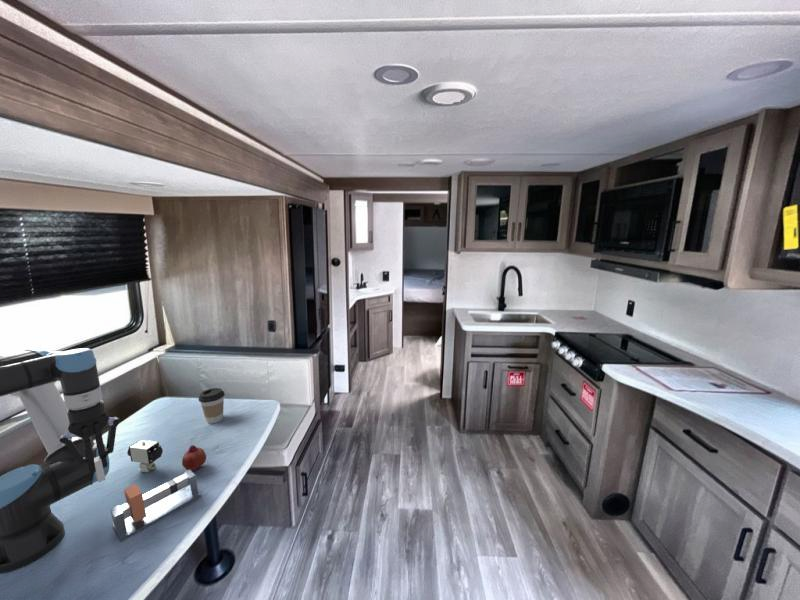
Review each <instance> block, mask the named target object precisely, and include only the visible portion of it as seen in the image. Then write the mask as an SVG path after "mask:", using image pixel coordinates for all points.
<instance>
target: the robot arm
mask: <svg viewBox="0 0 800 600" xmlns="http://www.w3.org/2000/svg"><path fill="white" fill-rule="evenodd" d="M56 382H60V386H61V390H62V394H63V397H62V396H61V393H60V391H59V390H58V388H57V386H56ZM9 395H10V396H12V397H16V398H19V399H20V402H21V403H22V406H23V407H24V410H25V412H26V413H27V415H28V416H29V417H28V418H29V419H30V420H31V423H32V425H33V426H34V427H33V428H34V429H35V430H36V432H37V435H38V436H39V438H40V441H41V442H42V444H43V446H44V448H45V450H46V452H47V456H45V458H44V459H43V462H44V464H43V465H40V464H35V463H33V464H26V466H23V465H22V466H19V467H17V468H15V469H12V470H9V471H8V472H6V473H4V474H2V475H1V476H0V574H6V573H9V572H14V571H17V570H19V569H21V568H24V567H26V566H28V565H30V564H32V563H34V562H36V561H38V560H39V559H41V558H42V557H44V556H46V555H47V554H48V553H49V552H51V551H52V550H53V549H54V548H56V547H57V546H58V545H59V543H61V541H62V540H63V539H64V537H65V534H66V529H65V526H64V523H63V522H62V521H61V519H59V518H58V517H57V516H56V515H55V514H54V513H53V512H52V509H51V505H53V504H55V503H57V502H59V501H61V500H63V499H64V498H67V497H69V496H71V495H73V494H75V493H77V492H79V491H81V490H83V489H84V488H87V487H89V486H92V485H94V483H97V482H98V483H102V482H104V481H106V476H107V475H108V473H109V472H110V457H109V456H110V455H109V454H112V453H113V452H114V450H115V449H114V448H115V442H116V433H117V427H118V426H119V423H120V421H121V420H120V418H119V417H118V416H112V417H111V416H109V415H108V414H107V412H106V408H105V407H106V406H105V403H104V400H103V393H102V388H101V384H100V377H99V371H98V366H97V358H96V357H95V354H94V351H93V349H91V348H89V347H88V348H87V347H84V348H83V347H82V348H79V347H78V348H74V349H73V348H72V349H69V350H55V351H50V350H48V349H46V348H41V347H40V348H34V349H26V350H24V351H20V352H15V353H9V354H6V355H5V354H4V355H0V397H4V396H9ZM106 425H108V429H107V437H106V438H107V439H106V444H105V443H104V439H103V433H102V431H103V430H104V428H105V427H106ZM91 436H94V438H95V442H94V440H93V438H91Z"/></svg>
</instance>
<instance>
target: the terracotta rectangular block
mask: <svg viewBox="0 0 800 600" xmlns="http://www.w3.org/2000/svg"><path fill="white" fill-rule="evenodd" d="M123 491H124V497H125V500H126V501H125V502H126V503H127V502H129V504H130V506H131V510H132V516H131V518H132V519H133V521H134V523H135V522H137V521H139V520H141V519H143V518H144V517H146V511H145V506H144V500H143V492H142V491H141V489H140V488H139V487H138V485H137V484H136V483H134V484H132V485H131V486H128V487H126V488H125V489H124V490H123Z"/></svg>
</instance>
